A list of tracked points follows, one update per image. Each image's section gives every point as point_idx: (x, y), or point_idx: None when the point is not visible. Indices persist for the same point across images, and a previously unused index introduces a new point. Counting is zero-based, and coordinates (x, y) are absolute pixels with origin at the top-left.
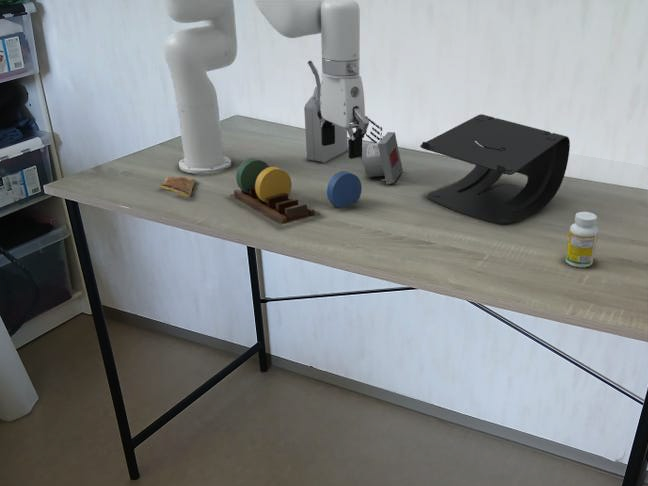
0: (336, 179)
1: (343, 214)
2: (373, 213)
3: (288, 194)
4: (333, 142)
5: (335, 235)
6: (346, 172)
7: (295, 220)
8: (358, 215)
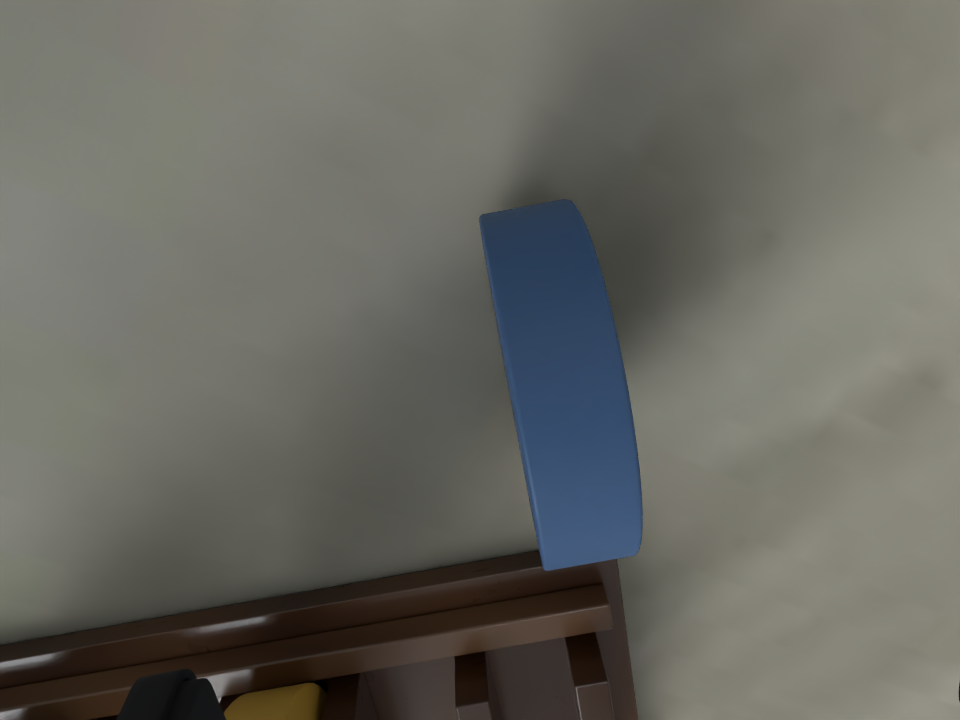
0: (622, 551)
1: (647, 386)
2: (760, 170)
3: (305, 692)
4: (210, 716)
5: (915, 558)
6: (589, 446)
7: (634, 704)
8: (725, 297)
